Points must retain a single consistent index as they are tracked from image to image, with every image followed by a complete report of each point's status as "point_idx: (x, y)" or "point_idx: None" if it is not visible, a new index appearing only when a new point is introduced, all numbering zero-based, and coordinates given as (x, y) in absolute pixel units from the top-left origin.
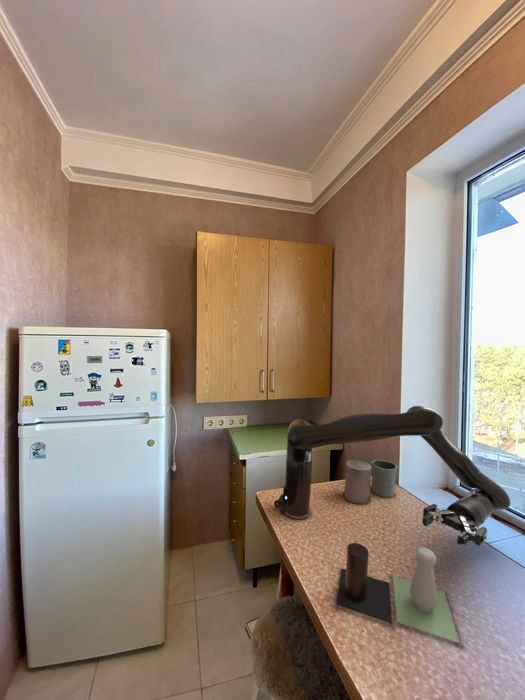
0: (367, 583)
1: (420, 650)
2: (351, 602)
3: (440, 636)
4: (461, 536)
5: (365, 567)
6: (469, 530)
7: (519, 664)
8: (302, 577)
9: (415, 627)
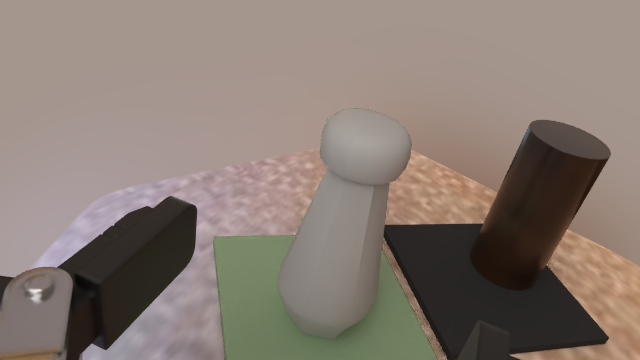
0: (503, 314)
1: (308, 206)
2: None
3: (263, 236)
4: (166, 201)
5: (513, 160)
6: (20, 307)
7: (44, 253)
8: (636, 268)
9: None
